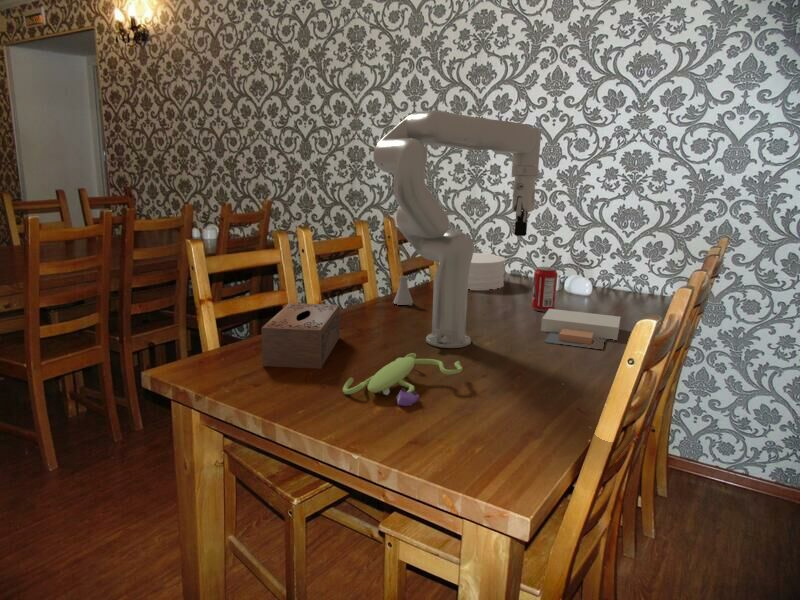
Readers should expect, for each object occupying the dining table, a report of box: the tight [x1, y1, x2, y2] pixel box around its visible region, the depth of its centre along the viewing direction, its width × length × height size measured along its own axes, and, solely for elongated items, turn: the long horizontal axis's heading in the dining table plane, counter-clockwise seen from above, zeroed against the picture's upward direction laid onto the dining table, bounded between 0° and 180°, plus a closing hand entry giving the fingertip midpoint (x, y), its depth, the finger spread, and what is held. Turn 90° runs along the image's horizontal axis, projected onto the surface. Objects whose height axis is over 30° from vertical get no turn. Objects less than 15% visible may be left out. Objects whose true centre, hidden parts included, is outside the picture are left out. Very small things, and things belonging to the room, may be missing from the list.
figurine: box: [342, 352, 463, 407], centre depth 128 cm, size 18×27×6 cm
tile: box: [559, 329, 594, 345], centre depth 166 cm, size 6×9×2 cm, turn 67°
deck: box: [540, 308, 622, 341], centre depth 177 cm, size 14×22×4 cm, turn 67°
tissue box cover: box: [260, 302, 340, 370], centre depth 150 cm, size 26×14×10 cm, turn 176°
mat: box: [544, 332, 607, 348], centre depth 166 cm, size 12×16×1 cm
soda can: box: [531, 266, 558, 313], centre depth 200 cm, size 8×8×15 cm
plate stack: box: [438, 252, 506, 291], centre depth 244 cm, size 28×28×12 cm
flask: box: [392, 275, 414, 306], centre depth 204 cm, size 7×7×10 cm
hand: (520, 235), depth 170 cm, fingers closed
